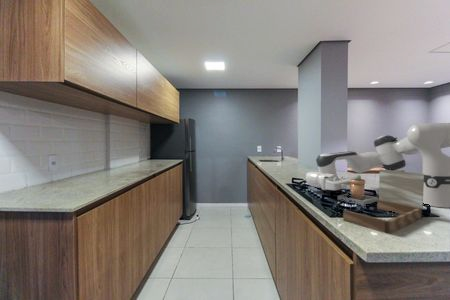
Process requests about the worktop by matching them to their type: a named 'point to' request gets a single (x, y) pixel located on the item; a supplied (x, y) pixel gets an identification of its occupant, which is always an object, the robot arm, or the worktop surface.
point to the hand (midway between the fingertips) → (356, 186)
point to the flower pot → (357, 188)
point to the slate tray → (363, 203)
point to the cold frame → (394, 201)
